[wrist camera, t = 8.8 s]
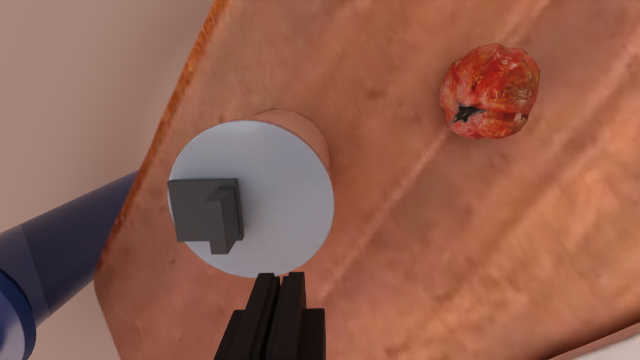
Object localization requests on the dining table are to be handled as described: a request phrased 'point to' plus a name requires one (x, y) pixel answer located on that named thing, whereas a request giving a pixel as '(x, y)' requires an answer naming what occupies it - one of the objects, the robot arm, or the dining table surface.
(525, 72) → the pomegranate
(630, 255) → the dining table surface
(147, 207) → the dining table surface
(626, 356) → the square plate
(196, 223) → the slider
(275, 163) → the travel mug
